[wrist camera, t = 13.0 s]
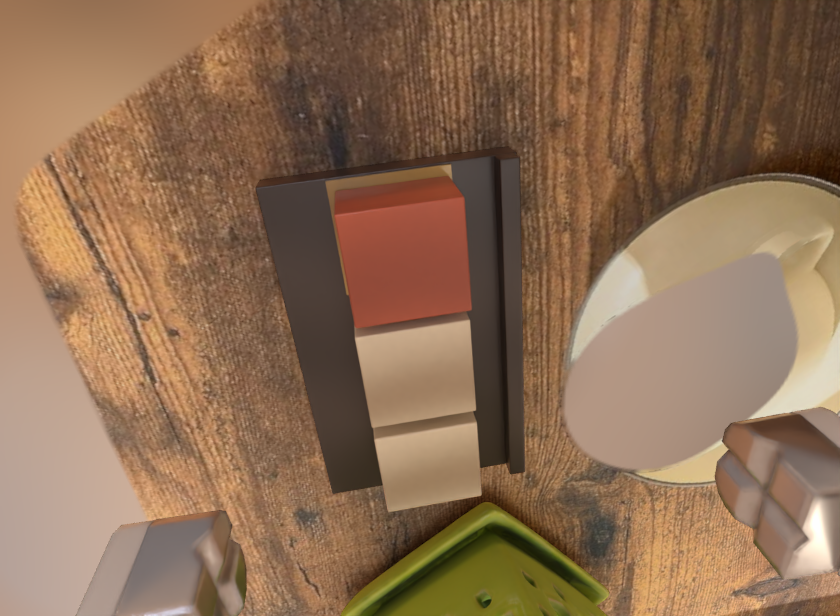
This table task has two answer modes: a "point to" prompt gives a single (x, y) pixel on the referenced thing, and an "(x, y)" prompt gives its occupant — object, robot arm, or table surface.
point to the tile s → (404, 250)
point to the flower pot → (482, 575)
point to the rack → (408, 338)
